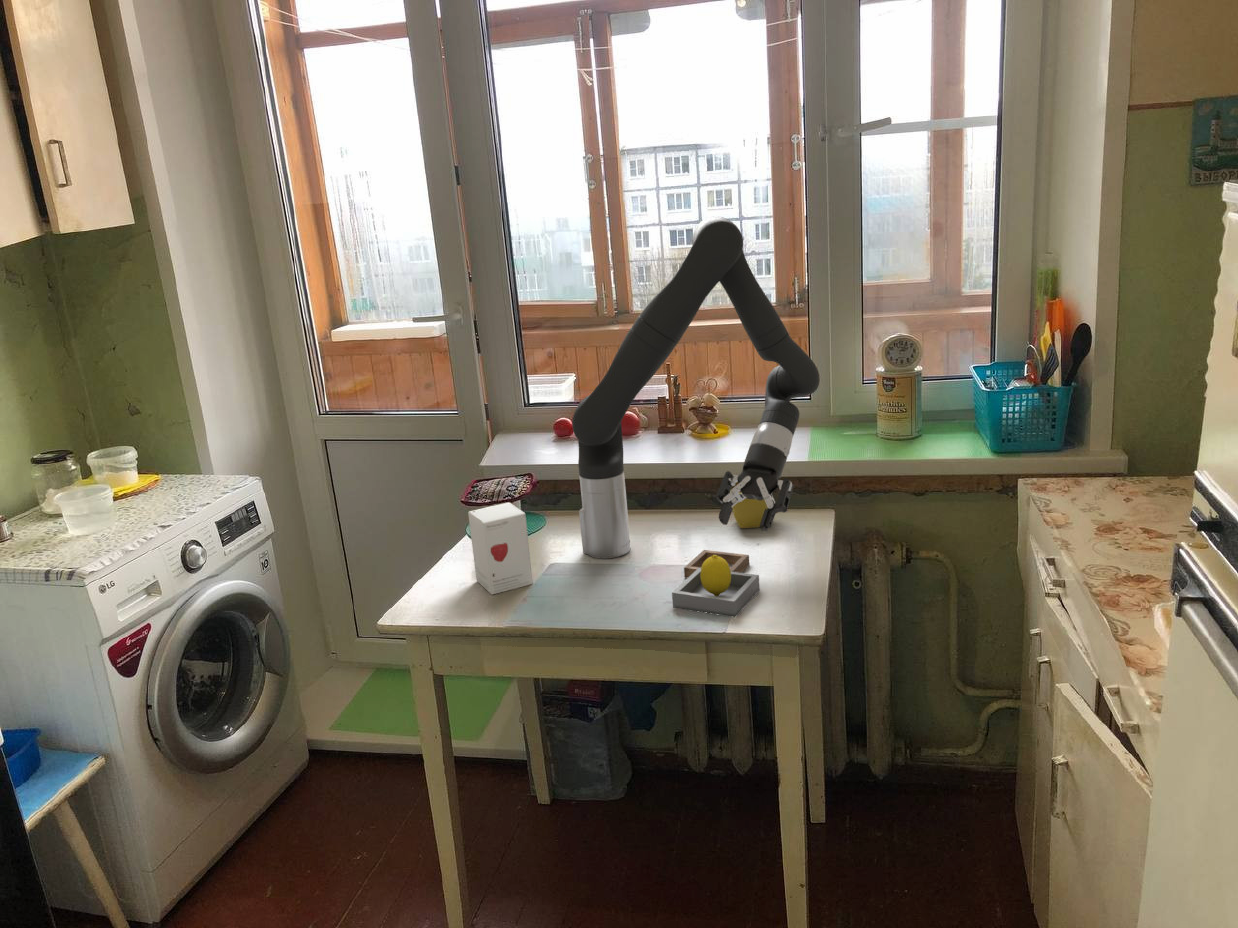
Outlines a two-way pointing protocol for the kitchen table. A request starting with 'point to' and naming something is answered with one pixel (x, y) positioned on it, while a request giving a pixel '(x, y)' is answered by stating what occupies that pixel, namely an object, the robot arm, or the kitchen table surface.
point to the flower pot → (749, 512)
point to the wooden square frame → (732, 558)
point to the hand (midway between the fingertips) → (742, 526)
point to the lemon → (715, 575)
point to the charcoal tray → (726, 603)
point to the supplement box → (500, 547)
